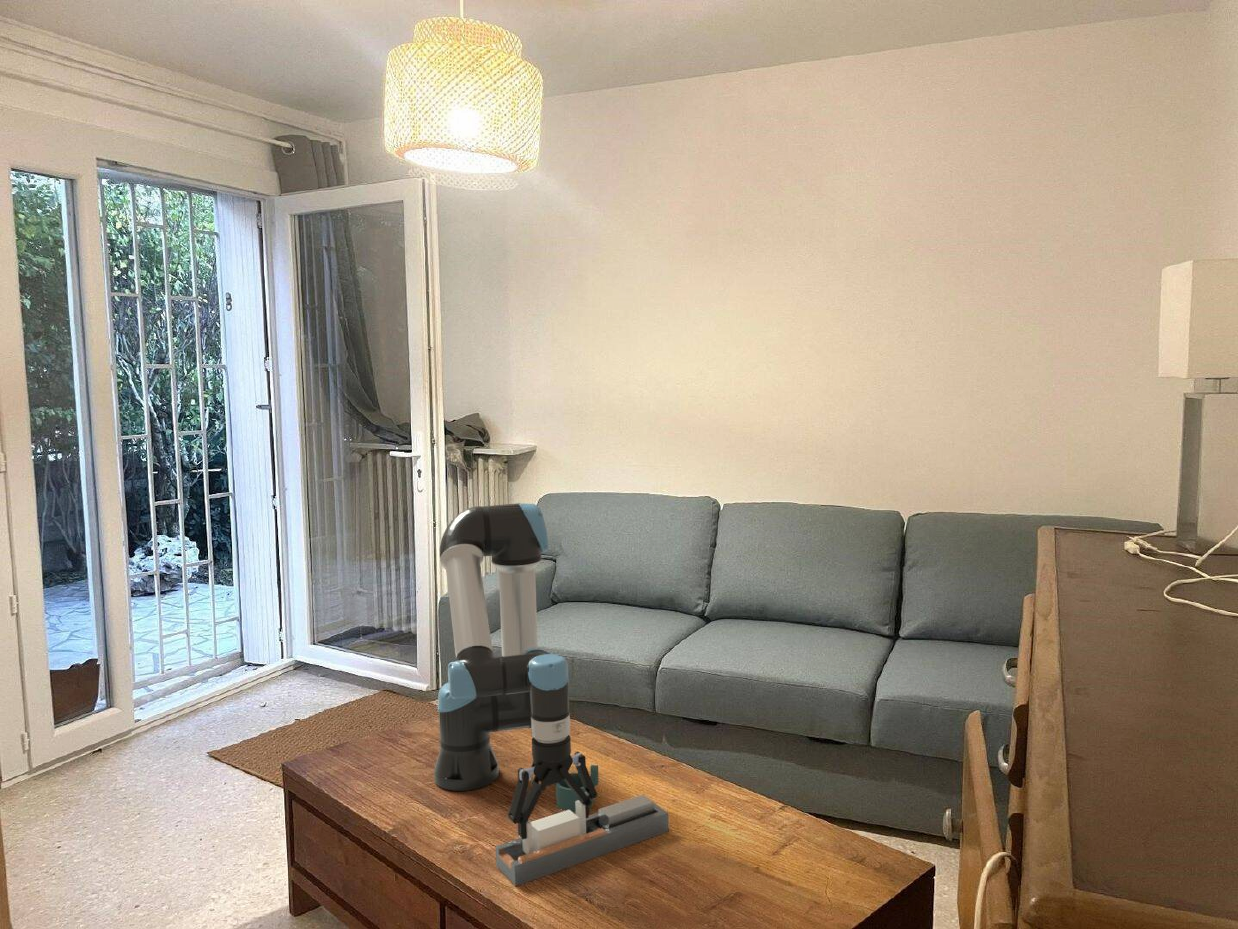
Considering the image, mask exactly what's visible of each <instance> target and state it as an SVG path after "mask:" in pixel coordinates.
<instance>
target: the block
mask: <svg viewBox="0 0 1238 929" xmlns="http://www.w3.org/2000/svg"><path fill="white" fill-rule="evenodd" d="M530 822H531V827H532V852H534V851H537V850H540V849H543V848H546V847H549V846H552V845H555V844H558V843H561V842H563V841H566V840H569V839H572V838H575V837H578V836H580V827H579V817H578V816H577V815H576V813H575V812H572V811H570V810H566V811H563V810H562V811H561V812H558V813H554V814H551V815H549V816H545V817H541V818H539V819H536V820H533V821H530Z"/></svg>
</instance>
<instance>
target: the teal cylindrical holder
mask: <svg viewBox="0 0 1238 929" xmlns="http://www.w3.org/2000/svg"><path fill="white" fill-rule="evenodd" d="M589 769H590V777H591V780H592V782H593V785H594V787H595V788H596V787H597V786H598V785H599V783H600V782H599V781H600V778H599V765H596V764H590V768H589ZM569 774H570V775H571V776H572V777H573V779H574V780H575V782H576V783H577V784H578V785H579V787H580V788H581V789H582V790H583V792H584V793H585V792H586V791H585V788H584V786H583V783H582V781H581V778H580V776H579V774H578V772H569ZM552 786H555V795H556V796H555V800H556V807H557V808H558V809H559V810H560V809H562V810H561V811H563V810H565V811H566V810H570V811H572V812H573V813H576V808H575V801H578V800H579V801H580V799H579V798H578V797H577V796H576V794H575V793H574V792H573V791H572V789H571V788H570V787H569V786H568V784H567V783H566V782H565V781H564V780H562V782H560V783H554V784H552ZM591 801H592V803H591V805H589V809H591V808H592V807H593V806H594V802H595V798H592V799H591ZM592 805H593V806H592Z"/></svg>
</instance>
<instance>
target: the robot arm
mask: <svg viewBox="0 0 1238 929" xmlns="http://www.w3.org/2000/svg"><path fill="white" fill-rule="evenodd" d="M548 550H549V539H548V531H547V527H546V522H545V518H544V516H543V513H542V509H541V508H540V507H539V506H538V505H537V504H535V503H521V502H518V503H507V504H498V505H497V504H494V505H484V506H482V505H479V506H477V505H476V506H473V507H469V508H466V509H464V510H462V511H460V512H459V513H458V514H457V515H456V516H455V517H454V518H453V519H452V520H450V522H449V524H447V527H446V529H445V530H444V532H443V534H442V537H441V539H440V545H439V562H440V566H441V567H442V568H443V569H444V570H445V573H446V581H447V589H448V599H449V607H450V616H451V627H452V634H453V642H454V643H453V644H454V653H455V661H451V662H449V663H448V664H447V679H448V682H446V683H444V684H443V685H442V686H441V687H440V688H439V690H438V696H437V697H438V698H437V700H438V702H437V704H438V705H437V712H438V720H439V725H438V726H439V743H440V744H439V746H440V748H439V753H438V755H437V759H436V762H435V765H434V770H433V779H434V783H435V784H436V786H438V787H439V788H441V789H444V790H448V791H454V792H456V791H457V792H460V791H461V792H462V791H463V792H465V791H472V790H477V789H481V788H484V787H487V786H489V785H491V784H492V783H493V782H495V781H496V780H497V779H498V777H499V774H500V772H499V763H498V760H497V757H496V754H495V751H494V749H493V746H492V744H491V739H490V738H491V737H490V736H491V733H496V732H497V733H498V732H505V731H514V730H523V729H530V730H531V731H530V732H531V737H532V739H531V752H532V753H531V755H532V764H531V767H527V768H523V767H519V768H518V769H517V781H516V785H515V789H514V792H513V797H512V799H511V803H510V806H509V809H508V813H507V814H508V815H507V818H508V819H509V821H511V822H512V823H513V824H514V825H516V824H517V835H518V837H519V838H521V839H522V842H523V851H524V852H525V853H526V854H528V853H531V852H532V827H531V822H532V821H530V820H529V819H530V818H531V815H532V814H533V811H534V809H535V807H536V805H537V802H538V801H539V799H540V797H541V795H542V793H543V792H545V790H546V788H547V787H549V786H553V784H554V783H560V782H562V780H564V781H565V782H566V783H567V784H568V786H569V787H570V788H571V789H572V791H573V792H574V793H575V794H576V796H577V797H578V798H579V799H580V801H579V800H578V801H575V808H576V812H575V815H577V816H578V817H579V827H580V836H581V835H584V834H586V818H588V817H589V815H590V808H589V805H591V803H592V801H591V799H592V798H594V799H596V798H597V797H598V792H597V790H596V786H595V787H594V785H593V782H592V780H591V777H590V776H591V774H590V773H589V770H588V767H587V765H586V764H587V762H586V761H587V760H586V756H585V755H584V754H582V753H581V752H580V751H575V752H574V753H573V755H571V753H572V744H571V741H572V740H571V736H570V733H571V720H570V719H571V717H570V715H571V714H570V686H569V684H570V683H569V681H570V672H569V668H568V667H569V666H568V660H567V659H566V658H565V657H564V656H562V655H560V654H556V653H555V654H554V653H550V652H549V651H548V650H547V649H545V648H543V647H539V646H538V645H539V644H538V618H537V616H538V614H537V613H538V612H537V611H538V610H537V586H536V584H537V583H536V579H537V578H536V567H537V566H538V565H539V564H540V563H541V562H542V553H543V554H544V553H546V552H547V551H548ZM485 557H491V564H492V565H493V566H495V568H496V569H497V570H498V586H499V609H500V610H499V611H500V612H499V614H500V637H501V656H495V657H494V651H493V645H492V636H491V630H490V624H489V617H488V610H487V608H488V607H487V603H486V602H487V601H486V595H485V589H484V582H483V575H482V567H481V564H482V563H483V561H484V558H485ZM572 765H574V766H575V769H576V772H577V773H578V774H579V776H580V778H581V781H582V783H583V786H584V788H585V791H586V792H585V793H584V792H583V790H582V789H581V788H580V787H579V785H578V784H577V783H576V782H575V780H574V779H573V777H572V776H571V775H570V774H569V773H570V769H571V767H572ZM532 775H534V777H533V779H532ZM530 781H531V786H529V785H530ZM528 789H529V790H528Z"/></svg>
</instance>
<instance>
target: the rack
mask: <svg viewBox="0 0 1238 929" xmlns="http://www.w3.org/2000/svg"><path fill="white" fill-rule="evenodd" d="M669 826H670V825H669V812H668V811H667V810H665V809H664V808H662V807H661V806H659V805H658V804H656V803H655V802H654V800H651V799H650V797H648V796H647V795H644V794H641V795H638V796H635V797H632V798H628V799H626V800H623V801H619V802H617V803H613V804H611V805H607V806H604V807H601V808H599V809H598V812H596V813H592V814H589V817H588V818H586V834H584V835H581V836H578V837H575V838H572V839H569V840H566V841H563V842H561V843H558V844H555V845H552V846H549V847H546V848H543V849H540V850H537V851H534V852H531V853H528V854H526V853H525V852H524V851H523V842H522V839H521V838H520V837H519V838H517V839H514V840H509V841H508V842H505V843H502V844H498V845H495V865H496V867H497V869H499V871H500V872H501V873H502V874H503V875H504V876H505V877H506V878H507V879H508V880H509V881H510V883H511V884H513V885H514V886H515V887H518V886H521V885H523V884H526V883H528V882H532V881H535V880H537V879H540V878H543V877H546V876H548V875H552V874H554V873H557V872H559V871H561V870H564V869H568V868H571V867H573V866H577V865H579V864H581V863H584V862H587V861H590V860H593V859H596V858H598V857H602V856H604V855H607V854H610V853H612V852H614V851H615V852H616V851H618V850H620V849H623V848H626V847H629V846H632V845H634V844H637V843H640V842H643V841H645V840H648V839H652V838H653V837H657V836H660V835H662V834H665V833H668V832H669V829H670V828H669Z"/></svg>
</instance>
